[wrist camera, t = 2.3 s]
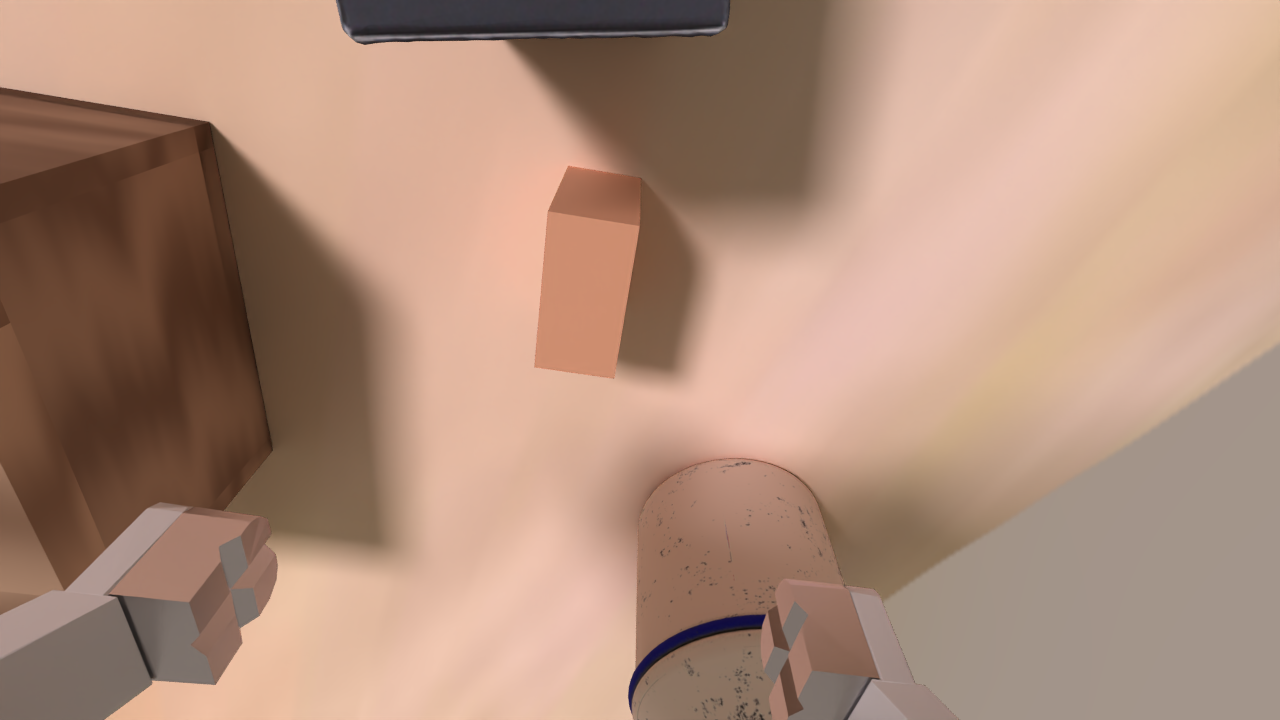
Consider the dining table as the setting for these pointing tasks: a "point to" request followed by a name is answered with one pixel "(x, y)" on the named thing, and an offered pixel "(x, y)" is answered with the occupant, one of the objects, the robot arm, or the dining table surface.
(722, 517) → the teacup with lid
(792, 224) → the dining table surface
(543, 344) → the orange block
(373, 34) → the small box
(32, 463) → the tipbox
